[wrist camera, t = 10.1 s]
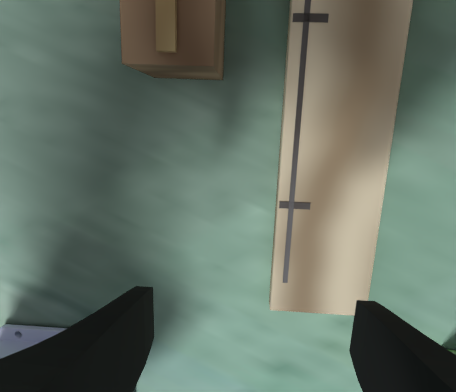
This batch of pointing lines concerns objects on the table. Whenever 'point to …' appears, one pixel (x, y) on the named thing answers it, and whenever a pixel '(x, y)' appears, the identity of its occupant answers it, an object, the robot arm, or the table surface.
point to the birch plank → (335, 149)
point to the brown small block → (174, 37)
